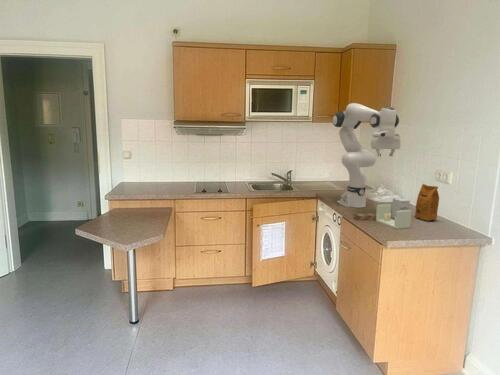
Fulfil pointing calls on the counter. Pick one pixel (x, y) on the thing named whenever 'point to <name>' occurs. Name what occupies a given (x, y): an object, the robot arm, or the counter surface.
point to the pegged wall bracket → (400, 220)
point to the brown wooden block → (365, 216)
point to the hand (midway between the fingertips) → (385, 156)
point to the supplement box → (399, 206)
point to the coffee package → (427, 203)
